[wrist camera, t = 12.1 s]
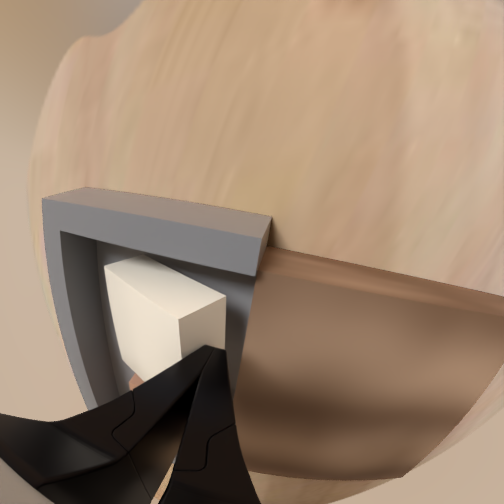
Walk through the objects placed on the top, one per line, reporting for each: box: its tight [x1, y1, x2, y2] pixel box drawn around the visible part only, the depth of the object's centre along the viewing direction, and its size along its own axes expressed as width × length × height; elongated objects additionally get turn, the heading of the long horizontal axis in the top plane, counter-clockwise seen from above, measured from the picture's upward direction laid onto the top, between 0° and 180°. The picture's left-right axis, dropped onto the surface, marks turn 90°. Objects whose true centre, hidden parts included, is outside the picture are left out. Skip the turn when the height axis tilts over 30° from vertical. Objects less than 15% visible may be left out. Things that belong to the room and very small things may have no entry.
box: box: [42, 187, 272, 464], centre depth 13 cm, size 16×9×3 cm, turn 171°
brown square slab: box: [233, 246, 504, 480], centre depth 12 cm, size 14×13×2 cm
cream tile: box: [104, 254, 226, 382], centre depth 10 cm, size 5×5×2 cm
